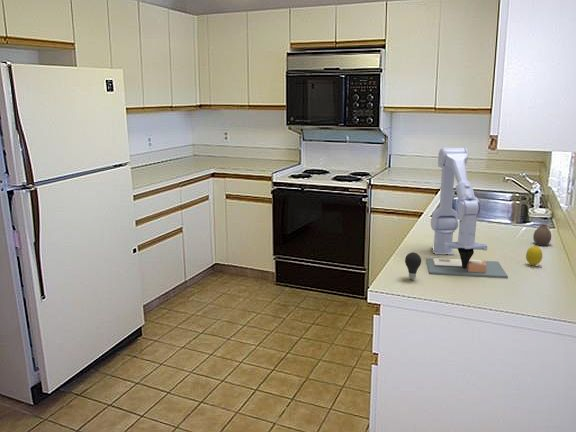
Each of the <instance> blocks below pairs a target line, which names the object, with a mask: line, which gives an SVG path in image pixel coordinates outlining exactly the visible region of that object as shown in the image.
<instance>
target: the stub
mask: <svg viewBox="0 0 576 432" xmlns="http://www.w3.org/2000/svg"><path fill="white" fill-rule="evenodd" d="M484 261H485V260H481V261H469V262H468V264H467V270H468V272H479V273H486V263H485V262H484Z"/></svg>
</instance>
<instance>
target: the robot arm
mask: <svg viewBox="0 0 576 432" xmlns="http://www.w3.org/2000/svg"><path fill="white" fill-rule="evenodd" d="M468 161H469V151H468V149H467V147H465V146H463V147H440V150H439V151H438V160H437V165H438V166H437V167H439V168H440V169H441V179H440V194H439V195H440V197H439V207H438V208H436V209H435V210H432V213H431V217H430V218H431V219H430V227H431V229H432V230H433V231H434V237H433V246H434V250H433V251H432V254H433V253H436V254H435V255H446V254H448V255H454V251H453V249H457V251H458V253H459V258H460V259H461V262H462V268H463V269H466V268H467V264H468V262H469V260H471V258H472V256H474V254H475V253H474V252H475V250H479V251H485V252H486V251H488V244H487V243H479V242H476V231H477V217H478V216H479V215H480V213H481V208H482V207H481V202H480V200H479V199H478V196H475V195H476V194H475V193H474V192H475V191H474V188H473V184H472V183H471V182H470V181H468V173H467V168H466V165H467V164H468V163H467V162H468ZM455 180H456V183H457V184H456V186H455V191H456V195H457V199H458V205H457V211H458V212H457V211H456V210H455V209H454V208H453V200H454V199H453V198H454V185H455V184H454V183H455ZM457 229H458V237H457V241H453V238H454V237H453V235H454V233H455V231H457ZM448 255H447V256H448Z"/></svg>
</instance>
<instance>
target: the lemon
mask: <svg viewBox="0 0 576 432" xmlns="http://www.w3.org/2000/svg"><path fill="white" fill-rule="evenodd" d="M525 254H526V255H525V259H526V261H527V262H528V263H529V264H530V265H531V266H532V267H533V266H534V267H535V266H536V265H538V264H540V263H541V262H542V259H543V250H542V249H541V248H540V247H538V246H537V245H534V246H530V247H529V248H528V249H527V251H526V253H525Z"/></svg>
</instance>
